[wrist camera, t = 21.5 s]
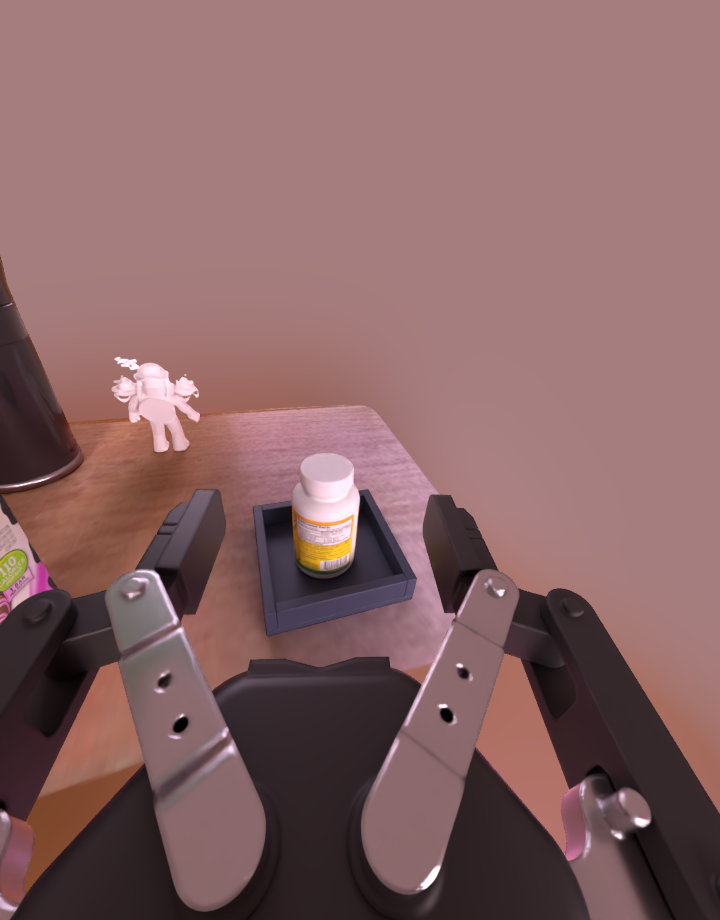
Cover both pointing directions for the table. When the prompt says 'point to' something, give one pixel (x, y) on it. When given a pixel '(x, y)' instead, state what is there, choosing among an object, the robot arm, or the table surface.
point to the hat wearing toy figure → (157, 402)
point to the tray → (318, 600)
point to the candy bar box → (18, 565)
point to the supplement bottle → (325, 516)
